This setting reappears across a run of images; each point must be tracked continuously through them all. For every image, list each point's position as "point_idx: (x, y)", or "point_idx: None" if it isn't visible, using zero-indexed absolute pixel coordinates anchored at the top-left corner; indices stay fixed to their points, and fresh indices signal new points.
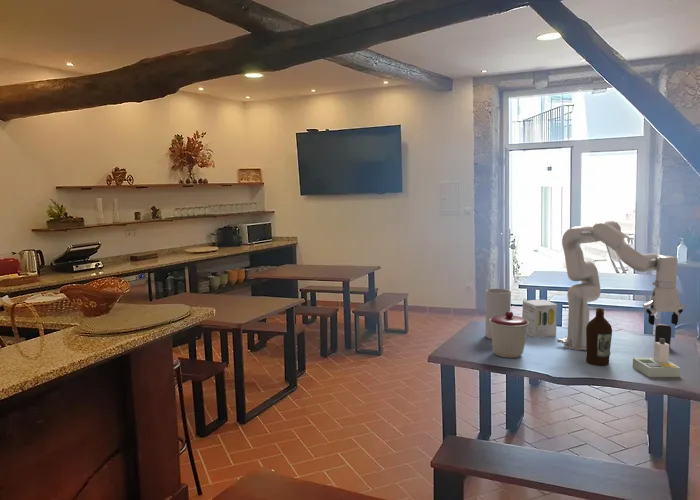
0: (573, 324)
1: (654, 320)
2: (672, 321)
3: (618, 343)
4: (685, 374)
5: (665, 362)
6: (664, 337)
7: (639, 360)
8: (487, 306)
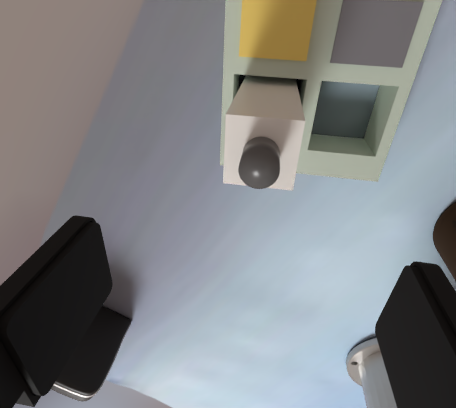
0: None
1: (437, 318)
2: (97, 289)
3: (228, 357)
4: (180, 24)
5: (257, 85)
6: (91, 339)
7: (361, 153)
8: None
